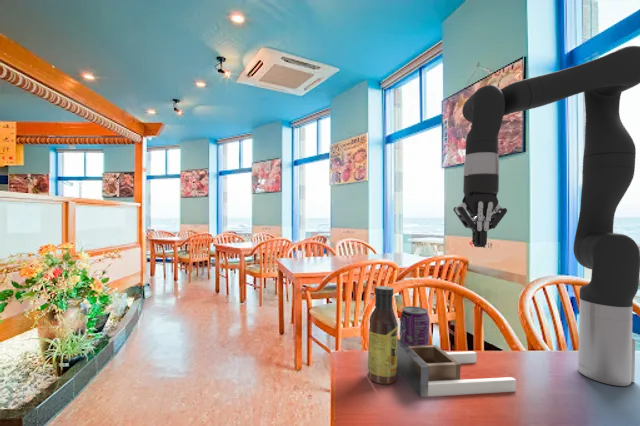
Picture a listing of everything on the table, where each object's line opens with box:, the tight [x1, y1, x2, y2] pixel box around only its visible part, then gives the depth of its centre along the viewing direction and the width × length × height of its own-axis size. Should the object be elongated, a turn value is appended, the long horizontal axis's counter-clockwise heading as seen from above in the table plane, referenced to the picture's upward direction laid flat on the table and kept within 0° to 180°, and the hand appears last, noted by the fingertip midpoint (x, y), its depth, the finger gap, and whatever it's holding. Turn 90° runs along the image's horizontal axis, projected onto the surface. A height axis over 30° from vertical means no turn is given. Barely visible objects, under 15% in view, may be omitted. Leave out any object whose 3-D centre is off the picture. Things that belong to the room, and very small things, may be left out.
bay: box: [397, 338, 517, 398], centre depth 72 cm, size 21×14×6 cm
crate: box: [408, 344, 462, 381], centre depth 71 cm, size 8×10×5 cm
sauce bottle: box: [367, 285, 399, 385], centre depth 71 cm, size 7×6×20 cm
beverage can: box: [399, 305, 430, 346], centre depth 83 cm, size 7×7×12 cm
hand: (479, 246), depth 77 cm, fingers closed
